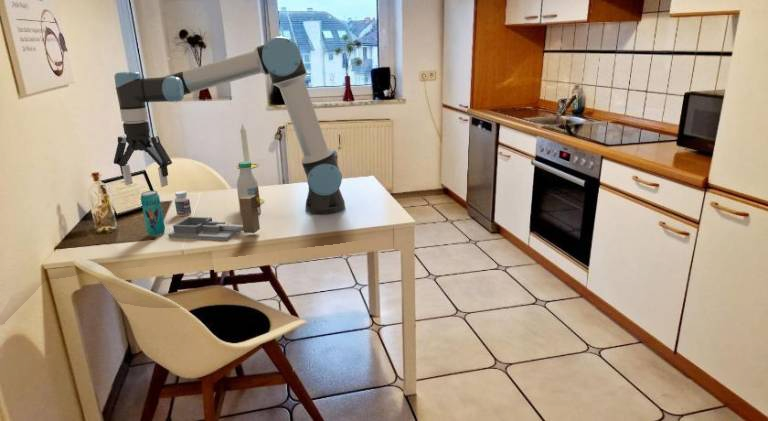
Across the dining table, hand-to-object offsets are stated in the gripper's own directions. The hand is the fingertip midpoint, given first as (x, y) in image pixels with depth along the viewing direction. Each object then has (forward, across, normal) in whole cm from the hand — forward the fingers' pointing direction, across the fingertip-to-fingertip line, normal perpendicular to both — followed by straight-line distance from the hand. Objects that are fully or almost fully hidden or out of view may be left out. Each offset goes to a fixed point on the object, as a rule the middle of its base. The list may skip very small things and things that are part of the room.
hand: (146, 185), depth 168 cm
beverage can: (+18, 0, 0) cm, 18 cm away
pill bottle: (+18, +3, -21) cm, 28 cm away
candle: (+18, -17, -38) cm, 46 cm away
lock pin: (+16, -29, -4) cm, 33 cm away
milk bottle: (+18, -23, -25) cm, 39 cm away
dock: (+17, -17, -4) cm, 25 cm away
